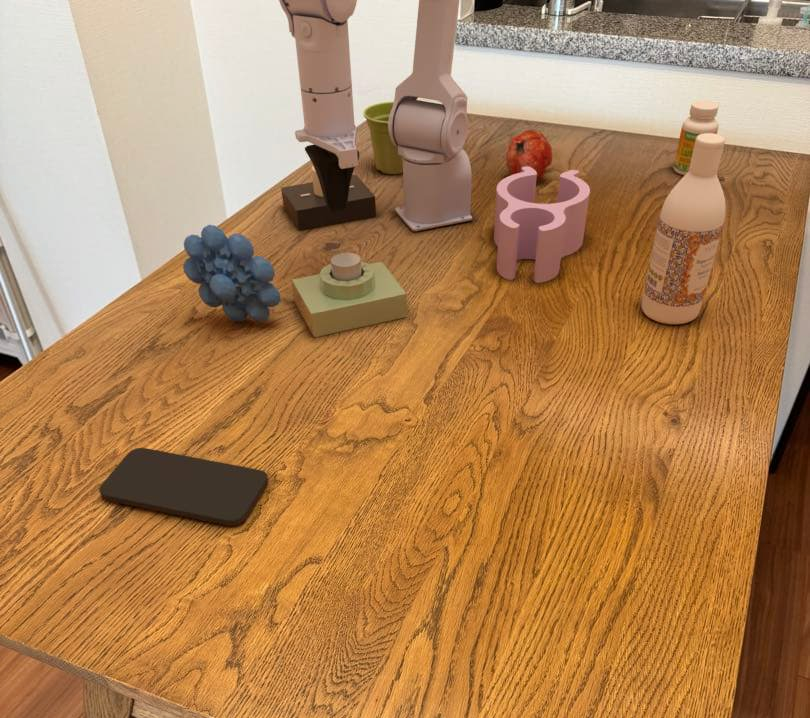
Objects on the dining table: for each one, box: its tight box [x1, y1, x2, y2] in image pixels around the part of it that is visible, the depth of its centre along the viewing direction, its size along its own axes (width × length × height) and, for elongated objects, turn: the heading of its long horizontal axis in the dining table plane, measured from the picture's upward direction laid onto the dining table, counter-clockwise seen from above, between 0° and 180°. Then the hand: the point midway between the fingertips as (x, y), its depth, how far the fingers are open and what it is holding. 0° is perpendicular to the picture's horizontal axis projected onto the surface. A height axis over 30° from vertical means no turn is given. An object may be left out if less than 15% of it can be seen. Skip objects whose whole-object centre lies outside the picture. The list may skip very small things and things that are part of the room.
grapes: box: [182, 224, 282, 323], centre depth 92 cm, size 12×7×12 cm, turn 78°
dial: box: [310, 165, 324, 197], centre depth 115 cm, size 4×4×4 cm
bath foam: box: [640, 133, 727, 325], centre depth 88 cm, size 7×7×20 cm
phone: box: [99, 447, 269, 527], centre depth 75 cm, size 7×1×15 cm
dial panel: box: [280, 174, 377, 232], centre depth 117 cm, size 12×9×3 cm
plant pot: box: [363, 101, 403, 175], centre depth 127 cm, size 9×9×9 cm
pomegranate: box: [505, 129, 553, 182], centre depth 123 cm, size 7×7×10 cm
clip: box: [493, 166, 591, 284], centre depth 106 cm, size 20×12×7 cm, turn 165°
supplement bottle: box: [673, 100, 720, 177], centre depth 122 cm, size 5×5×10 cm
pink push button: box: [330, 252, 362, 281], centre depth 94 cm, size 4×4×2 cm
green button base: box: [291, 260, 408, 338], centre depth 96 cm, size 12×9×5 cm
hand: (336, 208), depth 96 cm, fingers closed
